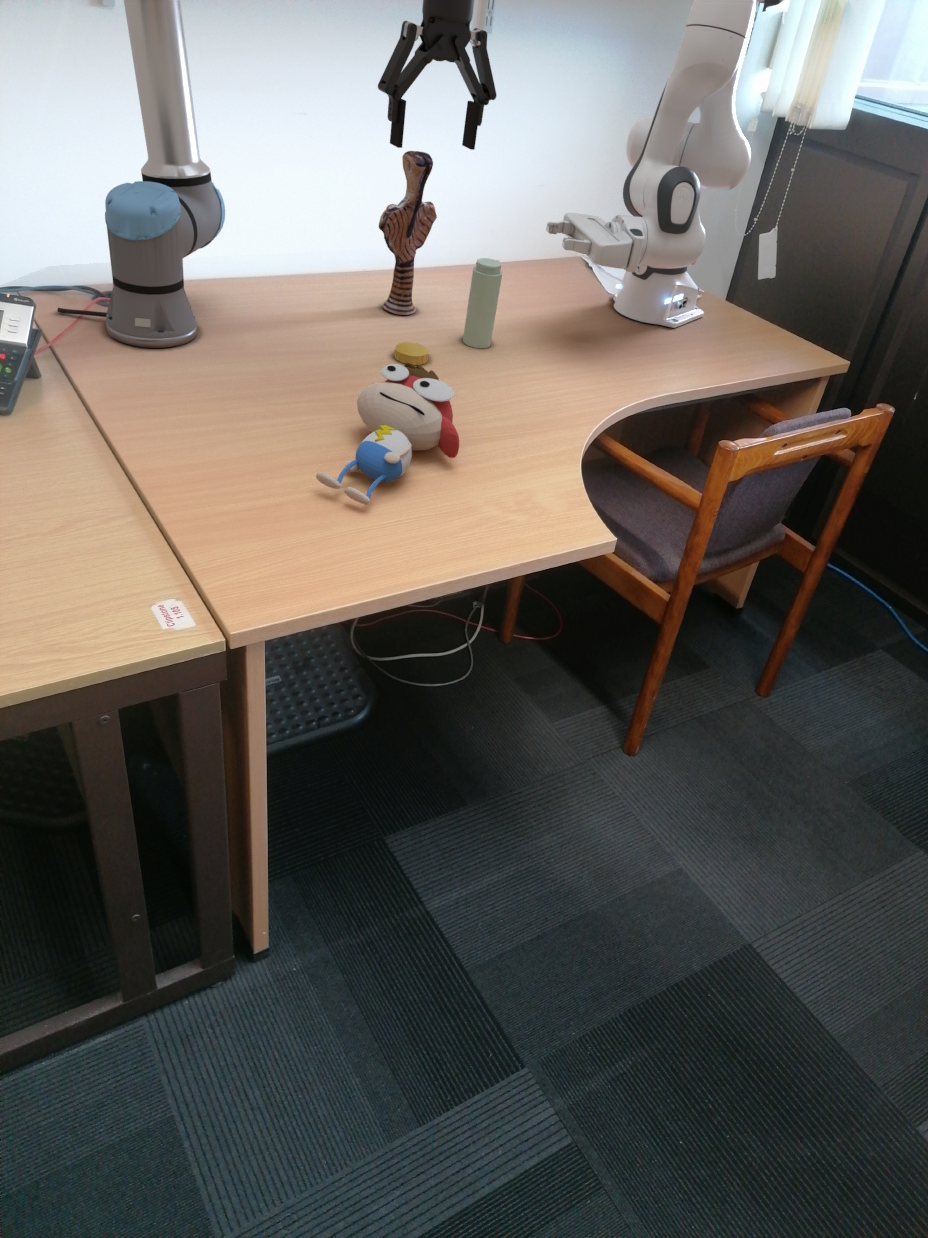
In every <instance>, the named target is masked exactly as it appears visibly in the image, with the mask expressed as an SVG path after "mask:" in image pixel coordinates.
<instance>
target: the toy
mask: <svg viewBox="0 0 928 1238" xmlns="http://www.w3.org/2000/svg"><path fill="white" fill-rule="evenodd" d="M380 371H381V372H380V373H381V376H382V377H383V378H384V379H385V381H381V382H374V383H371V384H369V385H368V386H366V387H365V388H363V389H362V390H361V391H360V393H359V395H358V397H357V399H356V404H357V406H356V407H357V412H358V414H359V417H360V418H361V420H362V422H363V424H365V426H366V427H367V428H368V429H369V430H370V431H371V433H369V434H368V435H367V436H365V438H364V439H362V441H361V442H360V443H359V445H358V447H357V449H356V451H355V457H354V459H353V460H348V461H347V462H345V464H344V465H345V466H344V468H343V469H342V470H341V472H340V473H339V475H338V477H337V479H336V478H334V477H333V476H331V475H330V474H327V473H325V472H322V471H318V472H316V474H315V478H316V480H317V482H318V483H319V482H320V483H321V484H322V485H324V486H326V487H328V488H331V489H334V490H339V489H341V488H342V482H343V479H344V477H345V475H346V474H347V473H348V472H350V473H356V472H358V471H360V472H362V474H364V475H365V476H366V477H368V478H369V479H372V480H374V481H373V482H372V483H371V485H370V486H369V488H368V489H367V492H366V494H365V493H363V492H362V491H360V490H359V489H356V488H354V487H352V486H347V487H345V489H344V493H345V494H344V495H346V496H347V497H348V498H350V499H351V500H353V501H354V502H357V503H360V504H364V505H369V504H371V496H372V494H373V491H374V490H375V488H376V487H377V486H378V485H379V483H389V482H391V483H392V482H394V481H396V480H399V479H400V478H401V477H402V476H403V475H405V473H406V472H407V471H408V469H409V468H410V467H409V466H410V464H411V461H412V457H413V451H428V450H431V449H433V448H434V447H438V448H439V450H440V451H441V452H442V453H443V454H444V455H445V456H446V457H448V458H450V459H455V458H456V457H457V456H458V454H459V449H460V437H459V433H458V430H457V428H456V427H455V425H454V423H453V422H454V421H453V420H454V412H453V407H452V404H451V403H452V402H451V400H452V399H453V398H454V397H455V392H454V390H453V388H452V387H451V386H450V385H448V384H447V383H446V382H444V381H442V380H440V378H439V376H438V375H437V373H436V372H435V371H434V370H433V369H430V370H429V371H428V370H427V369H426V368H424V367H423V366H422V364H421V365H412V364H410V363H406V364H405V363H404V365H403V364H398V363H391V364H386V365H385V366H384V367H382V369H381V370H380Z"/></svg>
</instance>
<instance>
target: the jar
mask: <svg viewBox="0 0 928 1238" xmlns="http://www.w3.org/2000/svg"><path fill="white" fill-rule="evenodd" d="M502 278H503V271H502V262H500V261H499V260H497V259H494V258H488V257H480V258H477V259H476V262H475V266H474V267H473V268H472V274H471V279H470V280H471V281H470V288H469V295H468V302H467V308H466V316H465V321H464V329H463V334H462V335H463V337H462V342H463V343H464V344H465V345H466V346H469V347H471V348H475V349H487V348H489V347H490V346H491V344H492V340H493V339H492V338H493V332H494V326H495V321H496V314H497V309H498V303H499V296H500V288H501V284H502V280H503V279H502Z"/></svg>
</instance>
